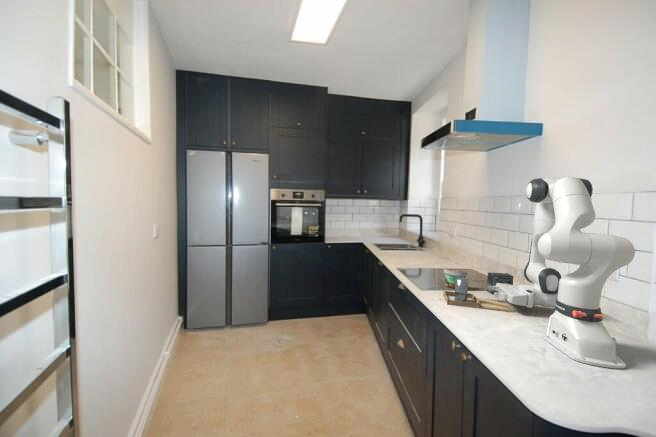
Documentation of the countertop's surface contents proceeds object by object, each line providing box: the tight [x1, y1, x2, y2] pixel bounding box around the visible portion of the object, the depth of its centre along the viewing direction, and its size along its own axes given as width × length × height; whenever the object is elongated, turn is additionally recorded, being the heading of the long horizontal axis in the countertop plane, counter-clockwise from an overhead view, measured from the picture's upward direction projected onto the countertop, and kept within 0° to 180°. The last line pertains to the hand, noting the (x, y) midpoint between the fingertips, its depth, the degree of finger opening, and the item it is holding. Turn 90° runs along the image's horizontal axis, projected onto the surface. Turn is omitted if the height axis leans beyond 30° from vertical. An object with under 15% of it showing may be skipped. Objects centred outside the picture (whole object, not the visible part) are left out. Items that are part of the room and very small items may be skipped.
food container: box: [443, 268, 468, 290], centre depth 157 cm, size 12×6×10 cm, turn 71°
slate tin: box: [453, 277, 469, 302], centre depth 137 cm, size 6×6×11 cm
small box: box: [486, 272, 514, 295], centre depth 152 cm, size 11×6×10 cm, turn 84°
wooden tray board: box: [442, 290, 516, 313], centre depth 136 cm, size 14×28×2 cm, turn 76°
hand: (491, 291), depth 134 cm, fingers open, 8 cm apart
